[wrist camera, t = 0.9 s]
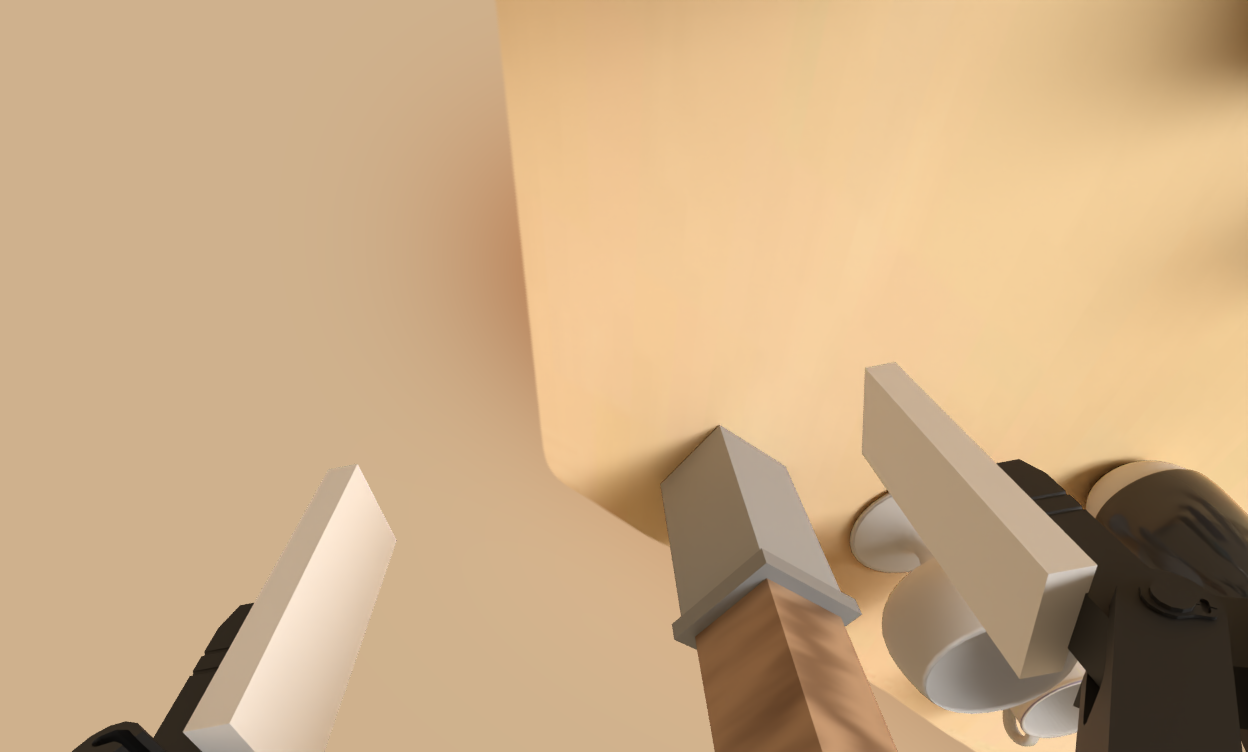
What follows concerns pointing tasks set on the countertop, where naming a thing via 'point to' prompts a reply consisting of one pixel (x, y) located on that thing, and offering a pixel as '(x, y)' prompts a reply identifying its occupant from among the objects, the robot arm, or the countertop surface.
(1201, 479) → the pump dispenser
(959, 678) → the chalice
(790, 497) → the stand
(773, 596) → the walnut handle block
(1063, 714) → the teacup
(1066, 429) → the countertop surface
